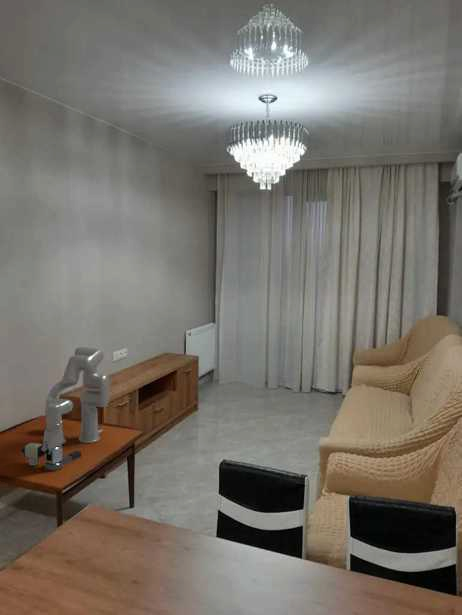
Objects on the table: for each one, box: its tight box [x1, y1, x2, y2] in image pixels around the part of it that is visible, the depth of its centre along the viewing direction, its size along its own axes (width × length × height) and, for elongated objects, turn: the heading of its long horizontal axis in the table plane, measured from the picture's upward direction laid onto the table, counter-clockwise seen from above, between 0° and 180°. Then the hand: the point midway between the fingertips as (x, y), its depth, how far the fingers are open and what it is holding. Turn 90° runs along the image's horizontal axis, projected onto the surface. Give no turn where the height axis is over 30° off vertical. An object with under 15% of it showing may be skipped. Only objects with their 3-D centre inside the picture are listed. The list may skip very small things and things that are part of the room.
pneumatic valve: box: [21, 442, 45, 466], centre depth 254 cm, size 6×12×12 cm, turn 78°
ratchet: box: [44, 450, 82, 473], centre depth 257 cm, size 22×9×7 cm, turn 152°
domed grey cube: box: [44, 446, 63, 464], centre depth 251 cm, size 6×6×8 cm
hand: (53, 457), depth 251 cm, fingers closed on domed grey cube, 5 cm apart
